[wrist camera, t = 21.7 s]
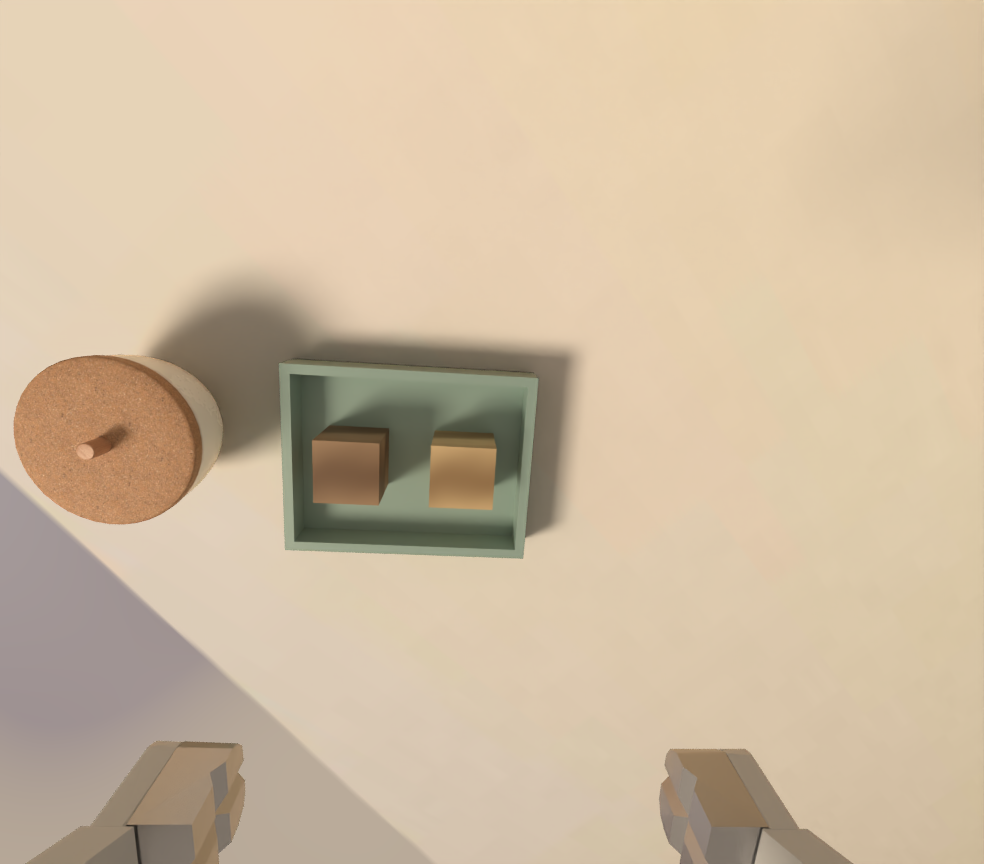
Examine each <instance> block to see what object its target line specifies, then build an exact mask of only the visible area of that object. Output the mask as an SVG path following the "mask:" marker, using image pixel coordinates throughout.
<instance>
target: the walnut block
mask: <svg viewBox="0 0 984 864" xmlns="http://www.w3.org/2000/svg"><path fill="white" fill-rule="evenodd" d="M312 465H313V503H329V504H353V505H377V506H379V504H380V501H381V499H382V497H383V495H384V492H385V490H386V488H387V486H388V469H389V428H374V427H354V426H335V425H329V426H328V427H327V428H326V429H324V430H323V431H322V432H321V433H320V434H319V435H318V436H316V437H315V438H314V439H313V440H312Z"/></svg>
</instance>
